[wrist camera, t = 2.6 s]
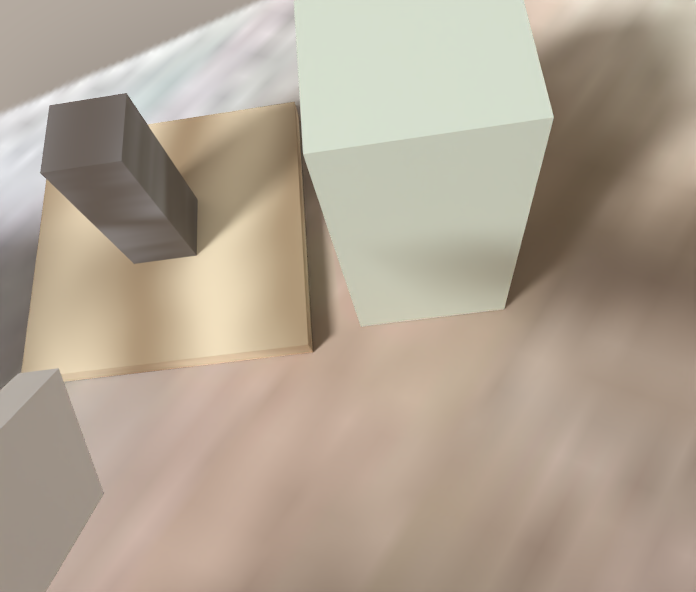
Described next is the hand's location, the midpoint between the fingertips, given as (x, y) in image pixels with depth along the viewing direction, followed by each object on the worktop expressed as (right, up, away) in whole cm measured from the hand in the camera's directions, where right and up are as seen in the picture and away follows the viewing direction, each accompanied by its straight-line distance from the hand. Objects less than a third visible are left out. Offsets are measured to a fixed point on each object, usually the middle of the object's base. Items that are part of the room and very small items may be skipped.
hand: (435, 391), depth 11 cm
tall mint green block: (+2, +3, +16) cm, 16 cm away
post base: (-9, +4, +18) cm, 20 cm away
